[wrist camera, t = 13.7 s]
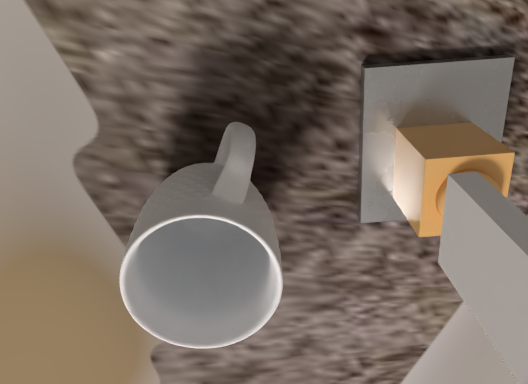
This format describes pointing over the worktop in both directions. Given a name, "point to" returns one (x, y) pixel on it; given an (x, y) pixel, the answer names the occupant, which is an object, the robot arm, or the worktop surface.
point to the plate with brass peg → (422, 114)
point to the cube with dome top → (443, 168)
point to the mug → (205, 252)
